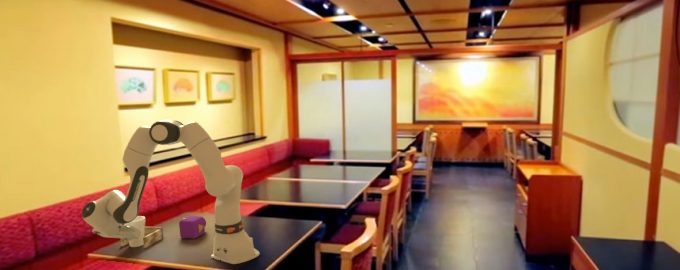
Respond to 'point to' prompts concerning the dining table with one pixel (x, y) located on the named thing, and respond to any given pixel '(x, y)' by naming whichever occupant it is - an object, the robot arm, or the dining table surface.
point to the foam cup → (140, 225)
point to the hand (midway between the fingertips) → (128, 239)
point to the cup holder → (149, 236)
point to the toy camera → (192, 227)
